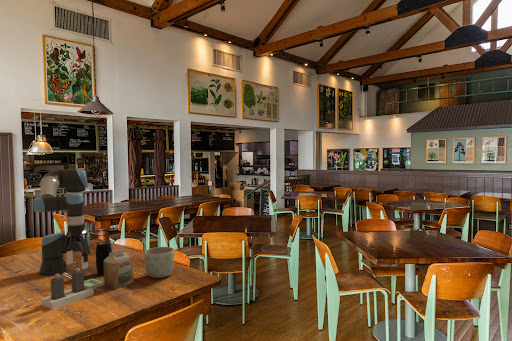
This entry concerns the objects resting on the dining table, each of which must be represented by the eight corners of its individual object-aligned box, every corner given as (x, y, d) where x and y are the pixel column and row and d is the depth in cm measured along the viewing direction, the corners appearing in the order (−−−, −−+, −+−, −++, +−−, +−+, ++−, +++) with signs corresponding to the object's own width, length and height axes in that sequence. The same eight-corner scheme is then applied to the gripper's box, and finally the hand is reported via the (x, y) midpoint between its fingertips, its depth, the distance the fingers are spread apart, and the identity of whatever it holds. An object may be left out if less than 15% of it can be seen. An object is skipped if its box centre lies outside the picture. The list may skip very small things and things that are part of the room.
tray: (73, 288, 186) (73, 284, 186) (92, 281, 196) (92, 278, 195) (84, 292, 180) (84, 288, 180) (103, 285, 189) (103, 281, 189)
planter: (180, 273, 207) (180, 248, 207) (161, 282, 192) (161, 255, 192) (158, 270, 215) (157, 245, 214) (138, 278, 199) (137, 252, 199)
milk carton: (116, 290, 182) (115, 254, 182) (104, 286, 188) (103, 252, 187) (133, 283, 191) (132, 249, 191) (121, 280, 197) (119, 247, 196)
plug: (72, 296, 173) (71, 269, 173) (80, 294, 176) (79, 266, 176) (76, 298, 171) (75, 270, 170) (84, 295, 174) (83, 268, 174)
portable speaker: (110, 276, 205) (109, 243, 204) (93, 277, 204) (92, 244, 203) (115, 271, 213) (113, 240, 212) (99, 272, 212) (98, 240, 212)
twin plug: (51, 303, 165) (50, 274, 164) (60, 301, 168) (59, 272, 168) (55, 305, 162) (54, 276, 162) (64, 302, 166) (63, 273, 165)
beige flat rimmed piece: (41, 305, 164) (41, 297, 164) (82, 292, 180) (82, 283, 180) (52, 310, 158) (52, 301, 158) (93, 295, 175) (93, 287, 175)
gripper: (55, 222, 176) (56, 263, 177) (82, 228, 162) (84, 272, 163) (69, 220, 182) (71, 260, 183) (97, 225, 169) (98, 268, 170)
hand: (77, 266), depth 173 cm, fingers open, 13 cm apart
